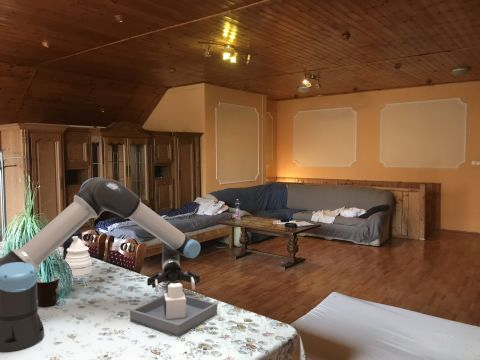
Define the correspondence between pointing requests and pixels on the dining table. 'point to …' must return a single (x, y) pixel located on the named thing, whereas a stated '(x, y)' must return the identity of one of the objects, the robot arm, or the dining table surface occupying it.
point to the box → (156, 320)
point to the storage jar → (69, 242)
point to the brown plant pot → (47, 292)
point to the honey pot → (78, 258)
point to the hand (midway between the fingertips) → (175, 287)
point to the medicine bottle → (174, 301)
